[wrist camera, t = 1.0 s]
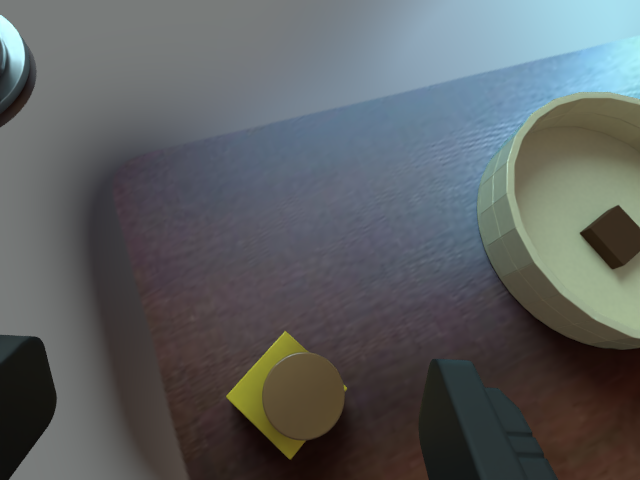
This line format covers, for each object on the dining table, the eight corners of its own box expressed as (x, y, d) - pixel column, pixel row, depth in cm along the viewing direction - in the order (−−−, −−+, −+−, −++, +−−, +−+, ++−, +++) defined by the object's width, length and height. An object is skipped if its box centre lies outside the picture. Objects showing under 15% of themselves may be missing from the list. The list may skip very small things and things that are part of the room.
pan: (428, 193, 33) (451, 165, 29) (581, 91, 39) (619, 55, 35) (602, 405, 30) (658, 407, 25) (745, 258, 35) (810, 241, 31)
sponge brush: (229, 396, 27) (195, 402, 14) (283, 336, 28) (299, 291, 15) (287, 452, 26) (310, 516, 13) (339, 388, 28) (405, 387, 15)
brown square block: (579, 233, 33) (589, 227, 32) (607, 210, 34) (618, 204, 33) (612, 270, 33) (624, 265, 31) (639, 245, 34) (652, 240, 32)
